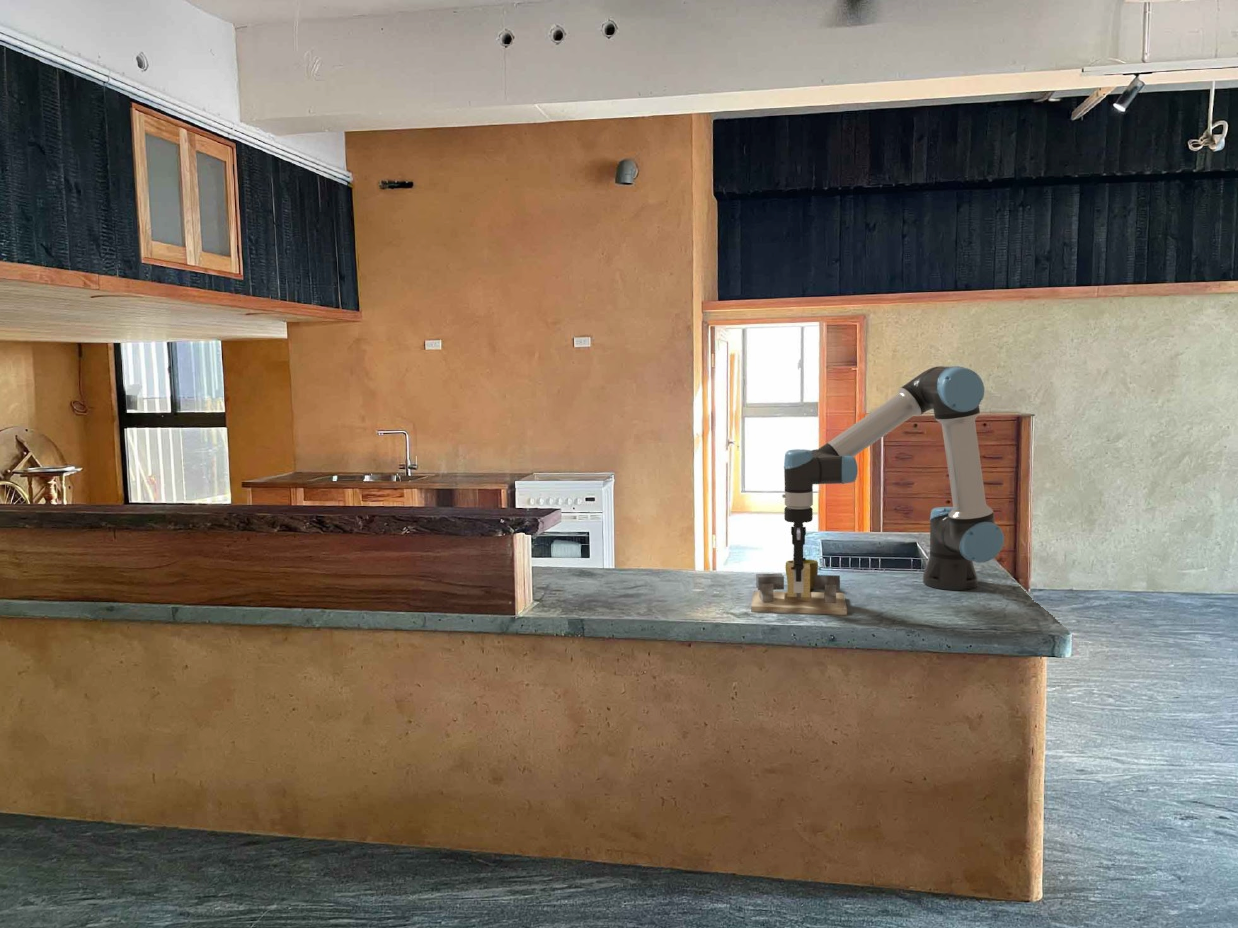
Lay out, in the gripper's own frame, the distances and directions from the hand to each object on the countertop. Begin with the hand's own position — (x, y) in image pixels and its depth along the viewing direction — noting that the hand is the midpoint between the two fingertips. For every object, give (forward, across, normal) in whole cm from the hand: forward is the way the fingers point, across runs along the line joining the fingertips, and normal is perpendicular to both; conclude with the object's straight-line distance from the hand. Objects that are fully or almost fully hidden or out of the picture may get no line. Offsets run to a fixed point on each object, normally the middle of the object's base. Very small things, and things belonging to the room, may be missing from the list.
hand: (798, 588), depth 246 cm
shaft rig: (+5, 0, 0) cm, 5 cm away
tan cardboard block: (+2, 0, 0) cm, 2 cm away
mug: (+5, -20, +1) cm, 21 cm away
